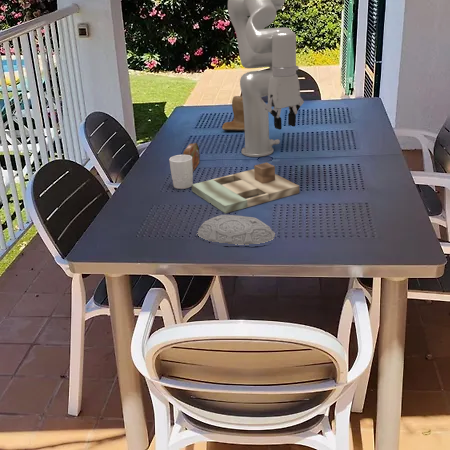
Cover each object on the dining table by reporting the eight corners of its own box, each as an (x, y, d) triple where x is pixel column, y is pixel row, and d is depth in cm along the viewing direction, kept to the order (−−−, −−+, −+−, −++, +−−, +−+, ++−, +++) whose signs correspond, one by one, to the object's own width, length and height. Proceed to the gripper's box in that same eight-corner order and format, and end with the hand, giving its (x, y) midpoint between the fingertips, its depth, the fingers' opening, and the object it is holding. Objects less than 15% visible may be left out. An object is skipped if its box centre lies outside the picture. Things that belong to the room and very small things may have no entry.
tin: (191, 174, 219) (189, 152, 216) (182, 174, 220) (180, 152, 216) (200, 161, 233) (199, 140, 229) (193, 161, 233) (191, 140, 230)
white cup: (177, 191, 205) (174, 163, 201) (168, 184, 211) (165, 157, 207) (198, 186, 208) (195, 158, 204) (188, 179, 214) (186, 153, 210)
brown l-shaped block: (259, 125, 274) (258, 92, 268) (255, 133, 263) (254, 99, 257) (226, 125, 277) (224, 93, 271) (222, 133, 266) (220, 99, 260)
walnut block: (267, 176, 206) (266, 162, 204) (275, 180, 202) (274, 166, 200) (254, 179, 204) (254, 165, 202) (262, 183, 200) (262, 169, 198)
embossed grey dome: (204, 219, 182) (203, 199, 178) (285, 230, 174) (285, 210, 171) (185, 246, 169) (183, 226, 166) (271, 260, 162) (271, 239, 158)
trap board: (261, 173, 216) (261, 167, 215) (299, 192, 197) (299, 185, 196) (192, 191, 204) (191, 184, 203) (225, 213, 185) (224, 206, 184)
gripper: (299, 66, 199) (299, 120, 206) (255, 73, 191) (257, 129, 199) (312, 69, 192) (312, 124, 200) (268, 77, 185) (269, 134, 193)
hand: (285, 126), depth 199 cm, fingers open, 4 cm apart
